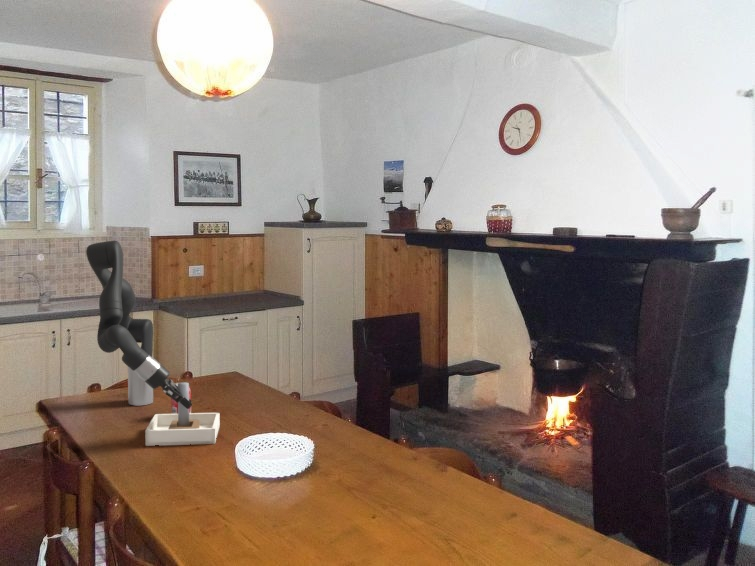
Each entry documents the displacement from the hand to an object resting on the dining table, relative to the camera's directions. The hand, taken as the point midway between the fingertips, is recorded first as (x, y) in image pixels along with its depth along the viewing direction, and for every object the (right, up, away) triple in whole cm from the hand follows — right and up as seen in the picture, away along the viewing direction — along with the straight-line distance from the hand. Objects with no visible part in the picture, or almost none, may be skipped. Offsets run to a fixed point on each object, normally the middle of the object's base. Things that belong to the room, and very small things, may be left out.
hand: (189, 404), depth 234 cm
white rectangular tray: (-2, -11, +1) cm, 11 cm away
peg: (-2, -7, 0) cm, 7 cm away
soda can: (-9, -8, +22) cm, 25 cm away
